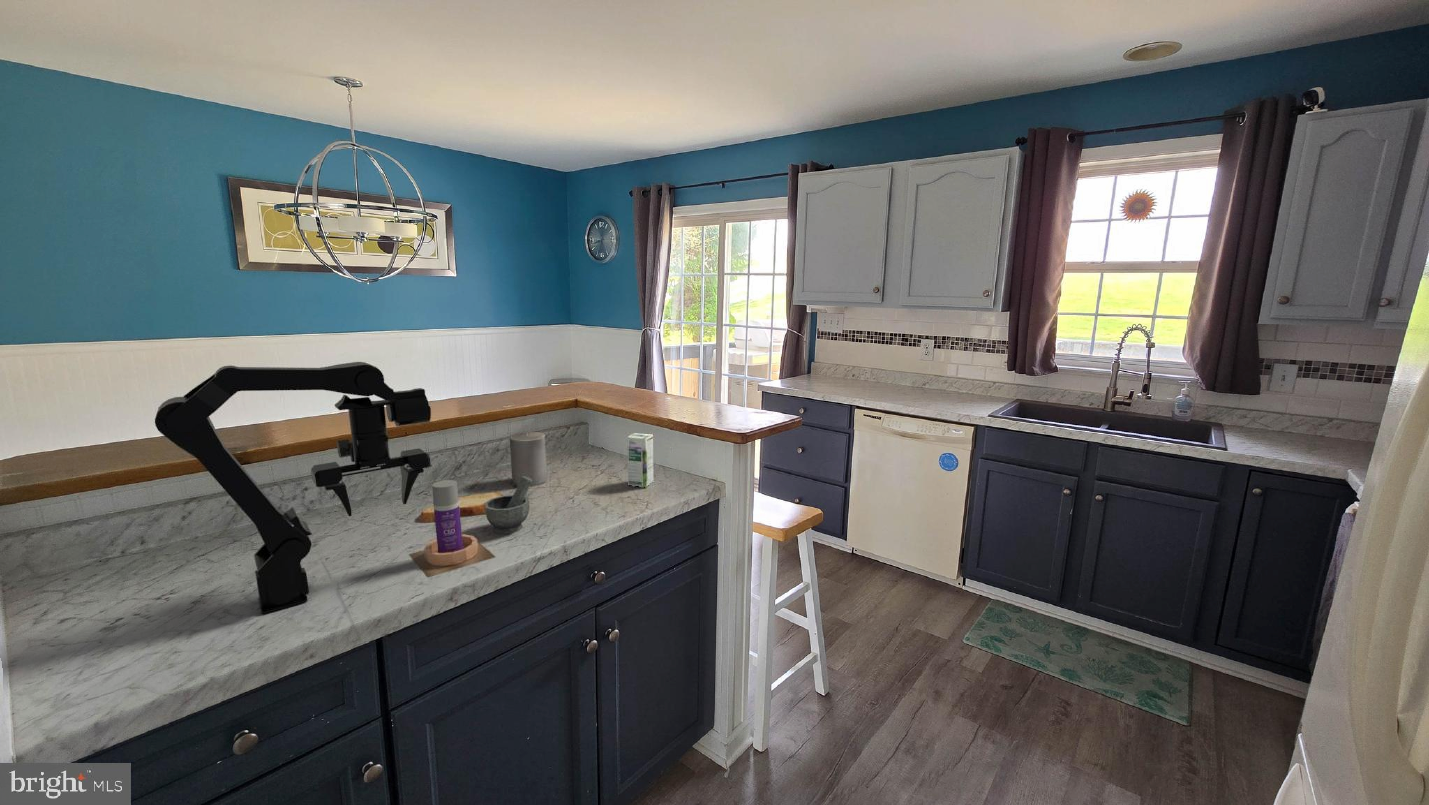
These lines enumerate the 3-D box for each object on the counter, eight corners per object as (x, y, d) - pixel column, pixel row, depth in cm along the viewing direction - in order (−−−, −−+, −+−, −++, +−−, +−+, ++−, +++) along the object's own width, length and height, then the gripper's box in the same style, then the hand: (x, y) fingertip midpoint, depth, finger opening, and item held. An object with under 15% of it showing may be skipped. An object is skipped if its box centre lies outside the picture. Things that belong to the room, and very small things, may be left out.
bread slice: (411, 522, 137) (410, 507, 137) (464, 497, 154) (463, 483, 153) (474, 531, 132) (473, 516, 131) (521, 504, 149) (520, 490, 148)
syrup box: (627, 486, 162) (626, 436, 160) (636, 480, 168) (635, 431, 165) (646, 488, 161) (645, 438, 158) (654, 481, 166) (653, 433, 164)
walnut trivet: (428, 579, 109) (427, 577, 109) (409, 556, 119) (409, 554, 118) (495, 559, 118) (495, 556, 117) (473, 539, 127) (473, 537, 127)
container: (446, 560, 115) (439, 489, 112) (433, 554, 117) (426, 484, 114) (467, 551, 118) (461, 482, 115) (455, 546, 121) (448, 478, 118)
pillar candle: (512, 477, 169) (509, 428, 166) (547, 474, 172) (544, 426, 169) (511, 488, 160) (508, 437, 157) (548, 485, 163) (545, 434, 160)
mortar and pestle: (496, 543, 125) (492, 490, 123) (479, 530, 132) (475, 480, 130) (543, 529, 133) (541, 479, 131) (525, 517, 139) (522, 470, 137)
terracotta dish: (434, 571, 111) (433, 559, 111) (420, 554, 118) (419, 543, 118) (484, 556, 118) (483, 545, 117) (467, 541, 125) (467, 530, 124)
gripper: (411, 416, 118) (418, 488, 121) (301, 430, 106) (312, 509, 109) (427, 425, 110) (434, 502, 113) (310, 441, 98) (322, 527, 101)
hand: (377, 509), depth 109 cm, fingers open, 9 cm apart
